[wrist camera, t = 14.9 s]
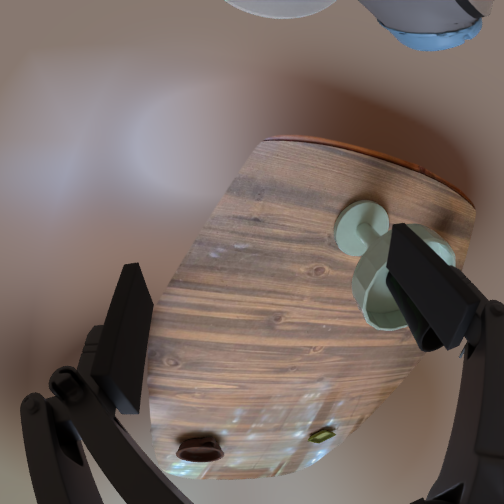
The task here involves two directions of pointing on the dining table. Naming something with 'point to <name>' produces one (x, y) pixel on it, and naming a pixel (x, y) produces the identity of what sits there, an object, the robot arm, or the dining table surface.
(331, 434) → the green square tray
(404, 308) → the cup
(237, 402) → the dining table surface
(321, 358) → the dining table surface
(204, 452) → the dish
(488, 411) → the robot arm
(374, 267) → the bowl
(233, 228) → the dining table surface
